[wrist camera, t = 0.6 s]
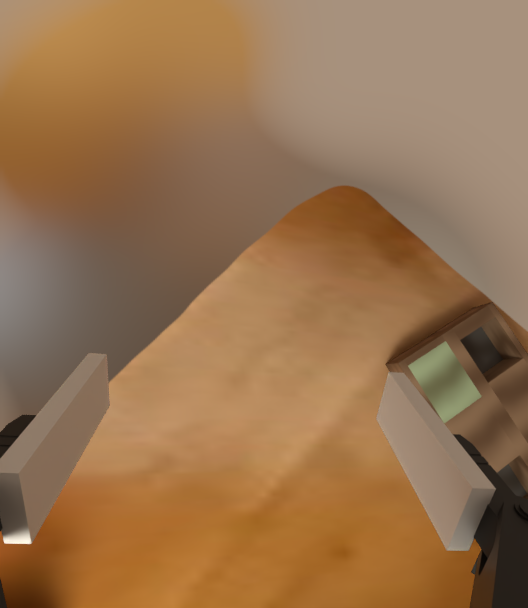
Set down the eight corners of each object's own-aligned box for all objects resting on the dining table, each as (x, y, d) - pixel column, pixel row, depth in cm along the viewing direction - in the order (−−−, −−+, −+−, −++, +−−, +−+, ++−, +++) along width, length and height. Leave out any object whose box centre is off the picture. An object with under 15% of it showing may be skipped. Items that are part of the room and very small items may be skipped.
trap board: (581, 466, 53) (609, 473, 49) (494, 538, 50) (516, 552, 46) (473, 307, 57) (492, 302, 53) (385, 364, 53) (398, 363, 49)
